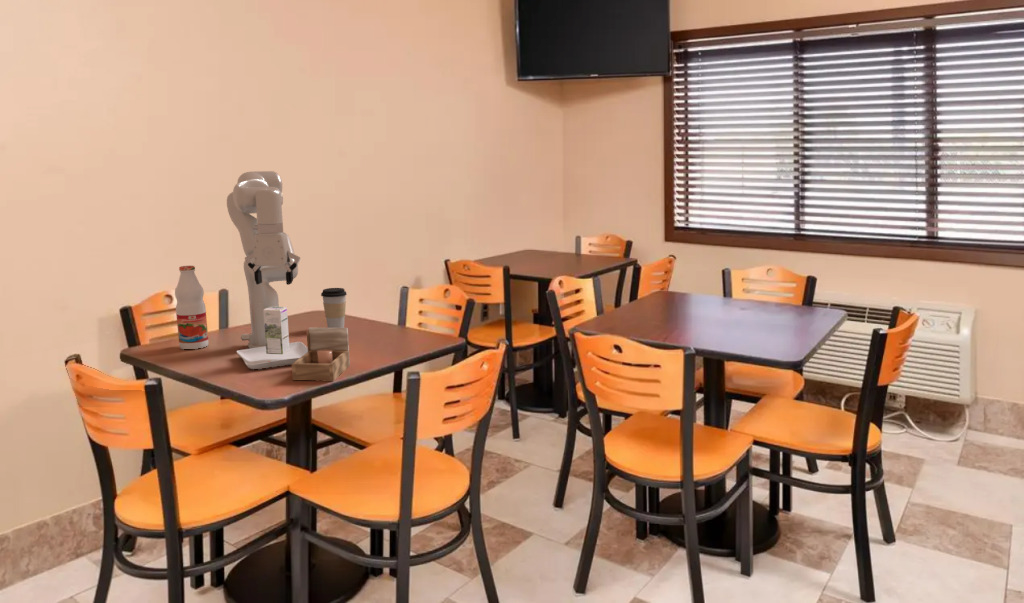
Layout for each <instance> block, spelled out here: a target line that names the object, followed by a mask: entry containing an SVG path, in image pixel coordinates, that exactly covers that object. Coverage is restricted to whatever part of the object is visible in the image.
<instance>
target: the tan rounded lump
mask: <svg viewBox="0 0 1024 603" xmlns="http://www.w3.org/2000/svg"><path fill="white" fill-rule="evenodd" d="M317 355H318V364H330V363H331V362H333V356H332V350H331V349H322V350H318V351H317Z"/></svg>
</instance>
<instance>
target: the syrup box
mask: <svg viewBox="0 0 1024 603" xmlns="http://www.w3.org/2000/svg"><path fill="white" fill-rule="evenodd" d="M263 313H264V327H265V341H266V354H285V353H286V352H288V351H289V350H290V346H289V343H290V337H289V336H290V335H289V318H288V307H287V306H279V307H267V308H266V309H264V310H263Z"/></svg>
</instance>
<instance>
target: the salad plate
mask: <svg viewBox="0 0 1024 603" xmlns="http://www.w3.org/2000/svg"><path fill="white" fill-rule="evenodd" d="M289 346H290V350H289V351H288V352H286V353H285V354H266V346H264V347H257V348H251V349H250V348H246V349H240V350H239V349H238V350H236V354H237V355H238V356H239V357H240V358H241V359H242V360H243V362H244V364H245V365H246V366H247V368H248V369H251V370H254V369H258V370H263V369H262V368H266V369H270V368H269V367H272V368H278V367H277V366H280V367H286V366H285V365H287V366H292V364H293V363H294V362H295V361H297V360H298V359H299V358H301V357H302V356H303V355H305V354H306V353H307V352H308V346H306V344H304V343H303V342H302V341H295V342H289ZM268 361H270V362H268Z"/></svg>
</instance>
